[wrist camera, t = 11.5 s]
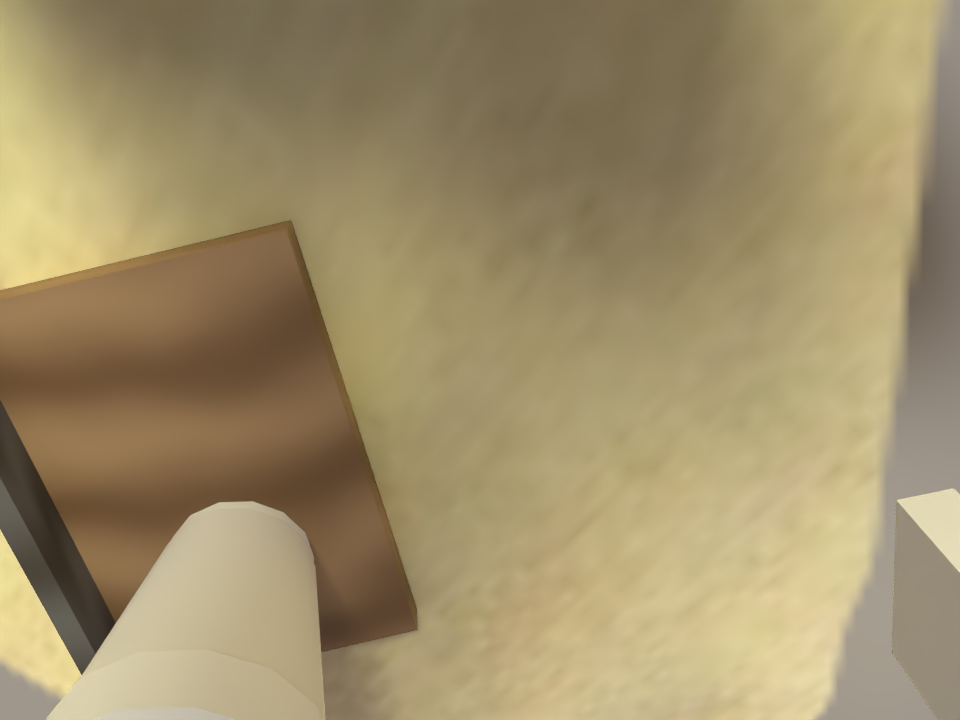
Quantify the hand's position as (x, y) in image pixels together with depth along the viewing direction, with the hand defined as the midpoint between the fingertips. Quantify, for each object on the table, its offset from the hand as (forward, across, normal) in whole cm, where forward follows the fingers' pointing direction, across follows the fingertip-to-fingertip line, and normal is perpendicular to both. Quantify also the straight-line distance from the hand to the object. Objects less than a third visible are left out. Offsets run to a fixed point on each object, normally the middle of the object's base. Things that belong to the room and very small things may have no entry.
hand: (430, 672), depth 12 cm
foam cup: (+23, -11, -14) cm, 29 cm away
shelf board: (+24, -12, -10) cm, 29 cm away
